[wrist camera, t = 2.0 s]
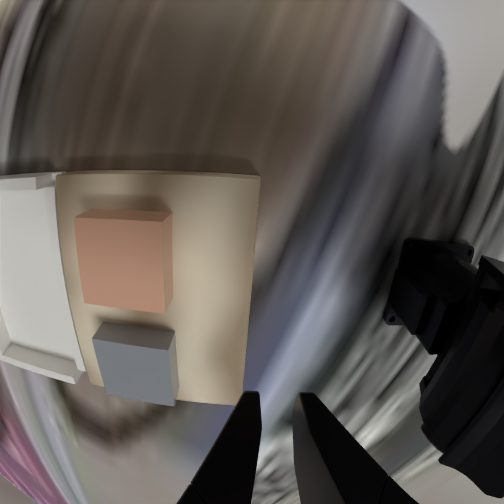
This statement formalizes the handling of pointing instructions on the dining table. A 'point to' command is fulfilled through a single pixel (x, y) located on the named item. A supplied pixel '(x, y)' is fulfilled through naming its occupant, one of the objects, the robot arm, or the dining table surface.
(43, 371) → the tray
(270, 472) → the dining table surface
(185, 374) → the birch board
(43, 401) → the dining table surface
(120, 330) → the slate tile
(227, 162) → the dining table surface
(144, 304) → the terracotta tile
